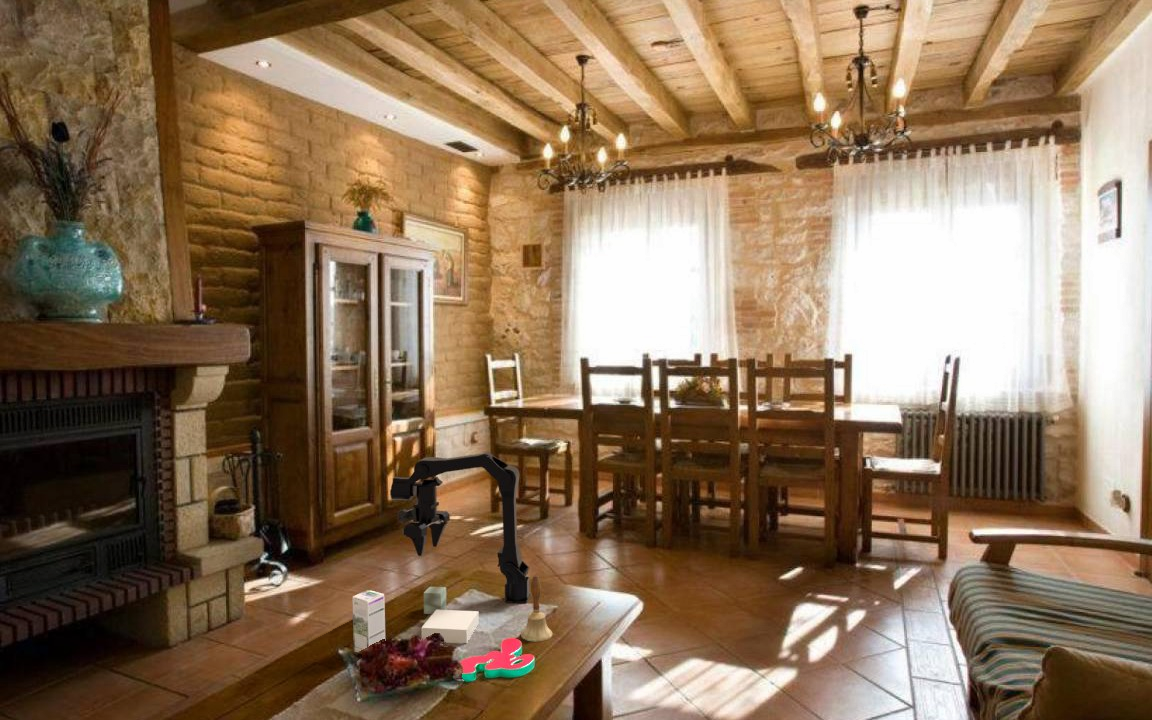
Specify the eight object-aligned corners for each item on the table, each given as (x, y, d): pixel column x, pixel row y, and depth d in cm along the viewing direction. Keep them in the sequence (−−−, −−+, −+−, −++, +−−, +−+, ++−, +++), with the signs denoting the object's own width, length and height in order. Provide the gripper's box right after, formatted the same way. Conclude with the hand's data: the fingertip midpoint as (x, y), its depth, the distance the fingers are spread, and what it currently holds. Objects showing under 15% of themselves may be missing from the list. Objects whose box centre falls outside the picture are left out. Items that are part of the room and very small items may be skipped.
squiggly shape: (515, 645, 178) (515, 636, 178) (542, 672, 163) (542, 662, 163) (439, 662, 168) (439, 653, 168) (461, 693, 154) (461, 682, 154)
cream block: (478, 625, 190) (478, 611, 190) (466, 645, 178) (466, 629, 178) (436, 623, 191) (436, 609, 191) (421, 642, 179) (421, 627, 179)
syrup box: (386, 649, 175) (385, 592, 174) (368, 658, 170) (367, 600, 169) (371, 644, 178) (370, 588, 177) (352, 653, 173) (351, 595, 172)
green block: (446, 607, 202) (446, 587, 201) (440, 614, 197) (440, 593, 196) (429, 606, 202) (429, 586, 202) (424, 613, 197) (423, 593, 197)
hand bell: (548, 643, 178) (547, 581, 177) (517, 640, 179) (516, 579, 179) (555, 629, 186) (555, 571, 185) (525, 627, 188) (525, 569, 187)
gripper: (418, 491, 220) (419, 540, 221) (386, 505, 202) (387, 558, 203) (449, 493, 217) (450, 542, 217) (420, 508, 199) (421, 561, 200)
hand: (427, 551), depth 209 cm, fingers open, 9 cm apart
